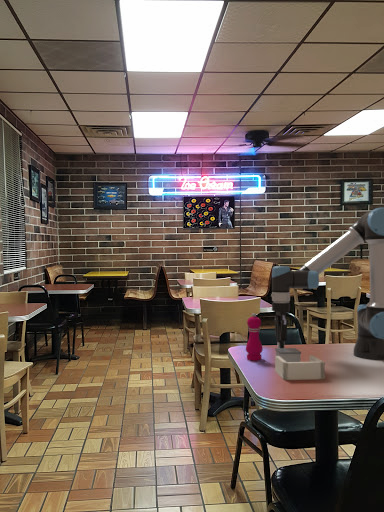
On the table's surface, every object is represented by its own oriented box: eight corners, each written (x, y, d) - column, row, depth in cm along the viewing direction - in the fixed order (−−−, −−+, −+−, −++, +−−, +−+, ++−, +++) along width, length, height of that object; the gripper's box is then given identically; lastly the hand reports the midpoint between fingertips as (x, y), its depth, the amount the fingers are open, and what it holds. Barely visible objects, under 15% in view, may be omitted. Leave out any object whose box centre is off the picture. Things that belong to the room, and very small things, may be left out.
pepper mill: (262, 361, 180) (262, 314, 180) (245, 360, 181) (245, 313, 181) (262, 357, 187) (262, 312, 187) (246, 356, 188) (246, 311, 188)
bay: (313, 370, 164) (313, 355, 164) (324, 379, 153) (324, 362, 153) (275, 371, 163) (275, 356, 163) (284, 380, 152) (284, 363, 152)
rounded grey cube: (295, 363, 176) (295, 348, 176) (301, 368, 168) (301, 351, 168) (275, 364, 175) (275, 348, 175) (280, 368, 168) (280, 352, 168)
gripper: (268, 300, 188) (268, 353, 188) (276, 303, 175) (276, 360, 175) (284, 300, 189) (285, 353, 188) (294, 303, 176) (294, 360, 175)
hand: (280, 356), depth 182 cm, fingers closed
